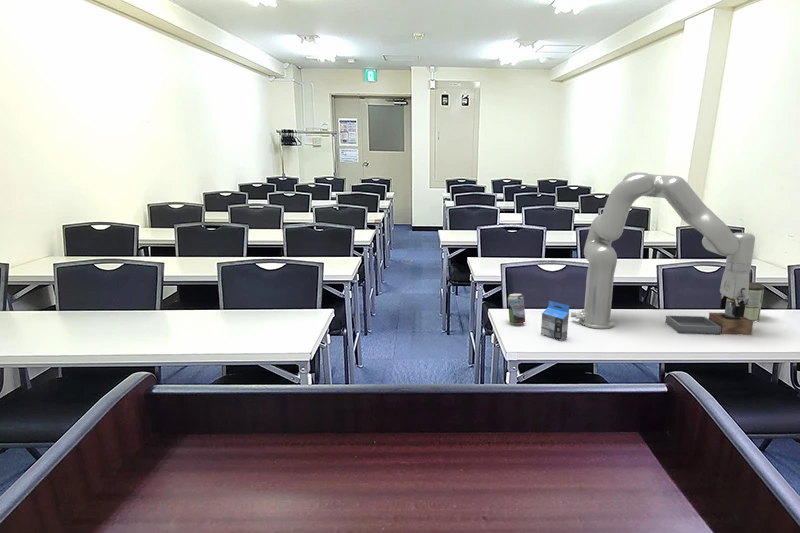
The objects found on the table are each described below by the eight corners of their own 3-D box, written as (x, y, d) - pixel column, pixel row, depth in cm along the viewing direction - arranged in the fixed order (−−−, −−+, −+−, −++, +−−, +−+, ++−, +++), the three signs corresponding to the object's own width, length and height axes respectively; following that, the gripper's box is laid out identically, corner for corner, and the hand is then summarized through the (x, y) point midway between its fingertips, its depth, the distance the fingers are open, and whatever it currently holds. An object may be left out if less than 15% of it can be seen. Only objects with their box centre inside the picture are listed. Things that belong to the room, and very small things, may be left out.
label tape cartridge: (540, 334, 174) (541, 302, 172) (546, 332, 177) (548, 300, 174) (561, 341, 167) (563, 307, 165) (567, 338, 170) (569, 305, 167)
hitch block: (721, 333, 173) (723, 320, 172) (707, 324, 183) (709, 312, 182) (751, 334, 172) (753, 321, 171) (735, 325, 181) (737, 313, 180)
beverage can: (519, 327, 181) (520, 297, 179) (503, 323, 187) (504, 293, 184) (528, 324, 185) (530, 294, 183) (512, 319, 191) (514, 290, 188)
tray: (678, 333, 174) (679, 325, 173) (665, 322, 186) (666, 315, 185) (720, 334, 172) (721, 326, 172) (703, 323, 184) (704, 316, 183)
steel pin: (725, 331, 176) (730, 300, 173) (720, 327, 179) (724, 297, 177) (737, 331, 175) (742, 300, 172) (731, 328, 179) (736, 297, 176)
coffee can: (722, 314, 195) (726, 281, 192) (747, 314, 195) (752, 281, 192) (738, 322, 185) (744, 287, 182) (765, 322, 185) (771, 287, 182)
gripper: (714, 262, 181) (708, 305, 185) (740, 272, 164) (733, 319, 168) (735, 262, 180) (729, 306, 184) (764, 272, 163) (756, 320, 167)
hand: (731, 312), depth 176 cm, fingers open, 8 cm apart
